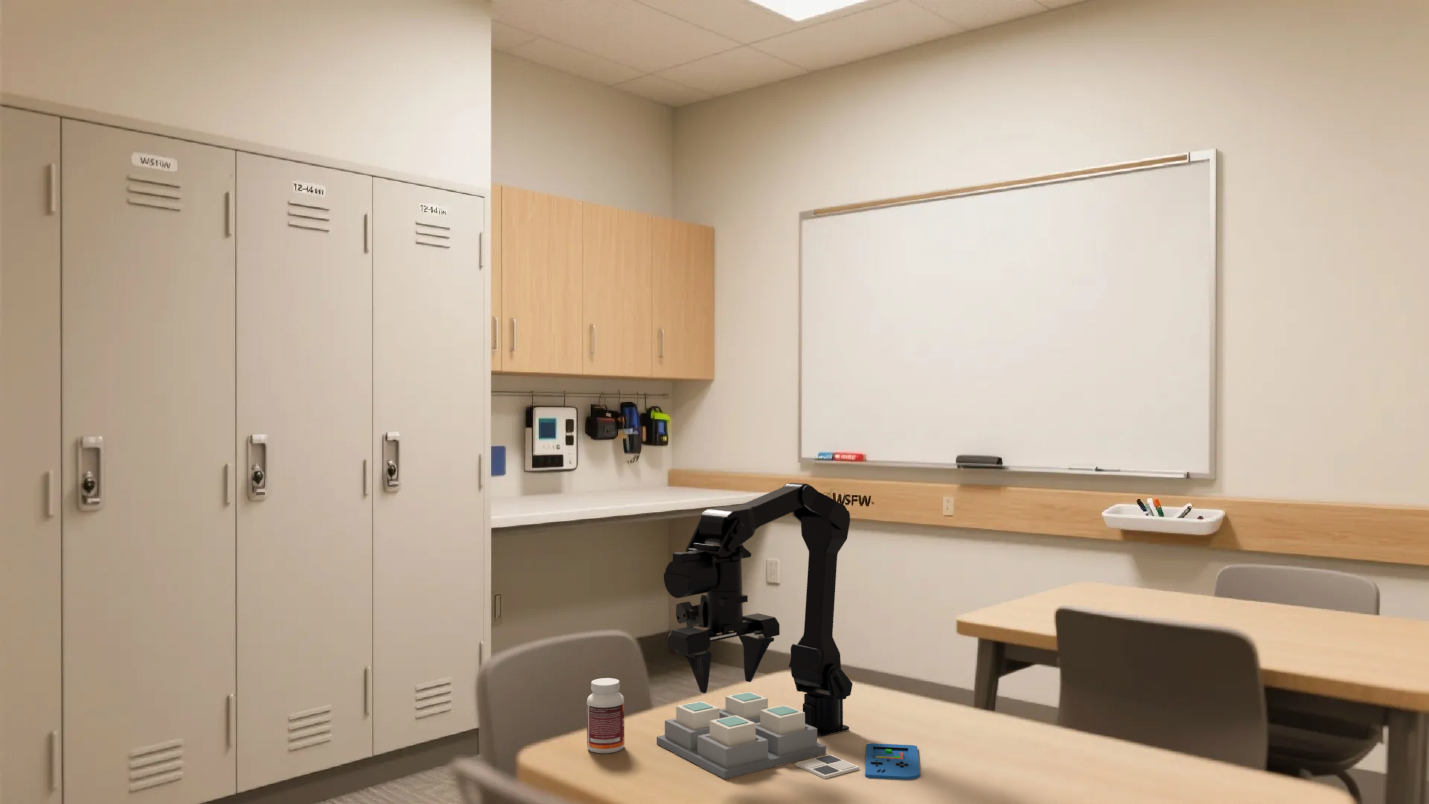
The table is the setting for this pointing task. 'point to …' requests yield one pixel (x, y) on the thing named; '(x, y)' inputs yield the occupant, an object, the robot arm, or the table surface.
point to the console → (740, 748)
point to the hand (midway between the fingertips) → (726, 687)
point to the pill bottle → (605, 716)
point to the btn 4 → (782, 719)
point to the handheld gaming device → (892, 761)
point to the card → (827, 766)
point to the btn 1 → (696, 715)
